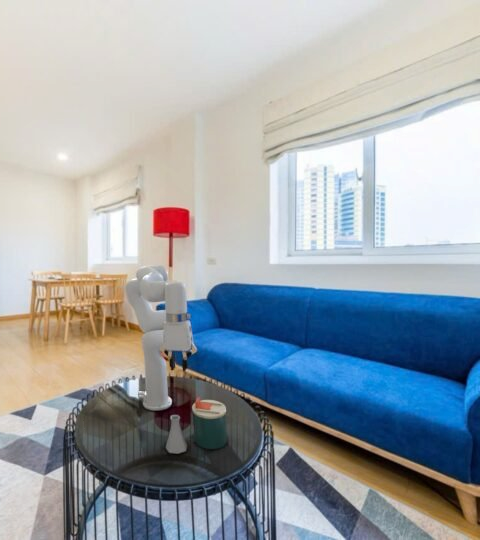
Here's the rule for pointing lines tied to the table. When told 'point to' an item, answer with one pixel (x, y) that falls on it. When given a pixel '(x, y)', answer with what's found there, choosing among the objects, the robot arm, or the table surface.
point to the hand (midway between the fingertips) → (178, 369)
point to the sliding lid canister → (210, 425)
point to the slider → (202, 405)
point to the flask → (176, 437)
